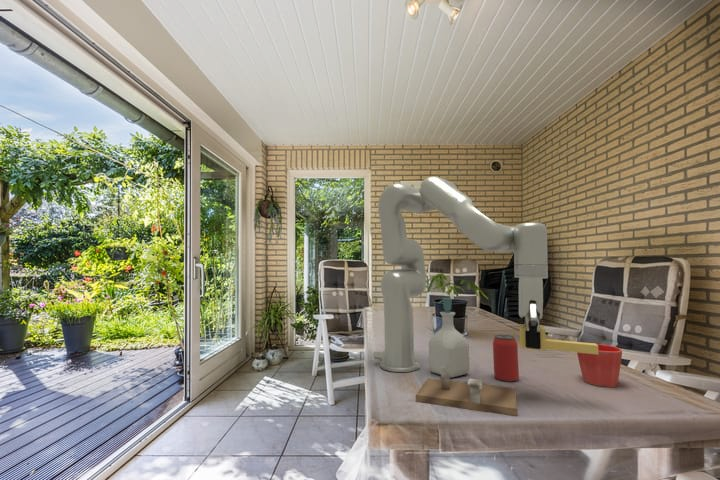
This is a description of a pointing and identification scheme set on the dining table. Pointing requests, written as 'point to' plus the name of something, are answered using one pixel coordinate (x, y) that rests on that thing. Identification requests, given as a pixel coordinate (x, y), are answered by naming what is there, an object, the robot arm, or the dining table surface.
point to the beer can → (505, 358)
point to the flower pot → (601, 366)
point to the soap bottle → (448, 346)
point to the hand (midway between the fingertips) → (532, 344)
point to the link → (558, 343)
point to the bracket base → (468, 394)
